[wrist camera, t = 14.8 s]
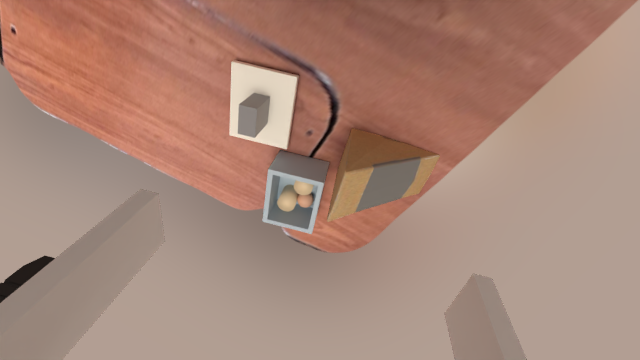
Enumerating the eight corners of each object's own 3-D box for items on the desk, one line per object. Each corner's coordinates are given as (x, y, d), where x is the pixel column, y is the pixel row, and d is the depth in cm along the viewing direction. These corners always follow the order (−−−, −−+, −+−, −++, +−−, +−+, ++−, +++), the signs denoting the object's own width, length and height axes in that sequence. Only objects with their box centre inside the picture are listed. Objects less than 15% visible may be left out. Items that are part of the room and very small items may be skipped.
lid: (237, 59, 45) (212, 69, 38) (300, 74, 45) (287, 87, 38) (234, 130, 52) (213, 150, 45) (289, 143, 51) (276, 166, 44)
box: (280, 149, 52) (268, 169, 46) (329, 162, 52) (324, 183, 46) (273, 198, 58) (262, 221, 52) (318, 210, 58) (311, 234, 52)
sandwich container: (419, 194, 53) (433, 256, 40) (337, 169, 52) (325, 223, 40) (442, 154, 48) (466, 209, 35) (352, 126, 48) (344, 171, 35)
